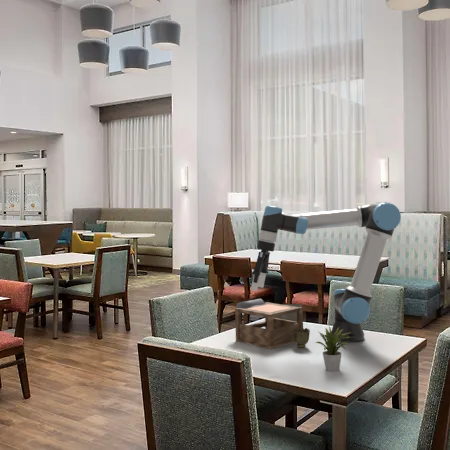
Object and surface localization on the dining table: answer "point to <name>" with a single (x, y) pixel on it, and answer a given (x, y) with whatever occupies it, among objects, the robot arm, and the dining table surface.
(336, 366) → the house plant
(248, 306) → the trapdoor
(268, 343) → the wooden slatted crate
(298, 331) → the cup
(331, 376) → the dining table surface
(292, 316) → the laptop
